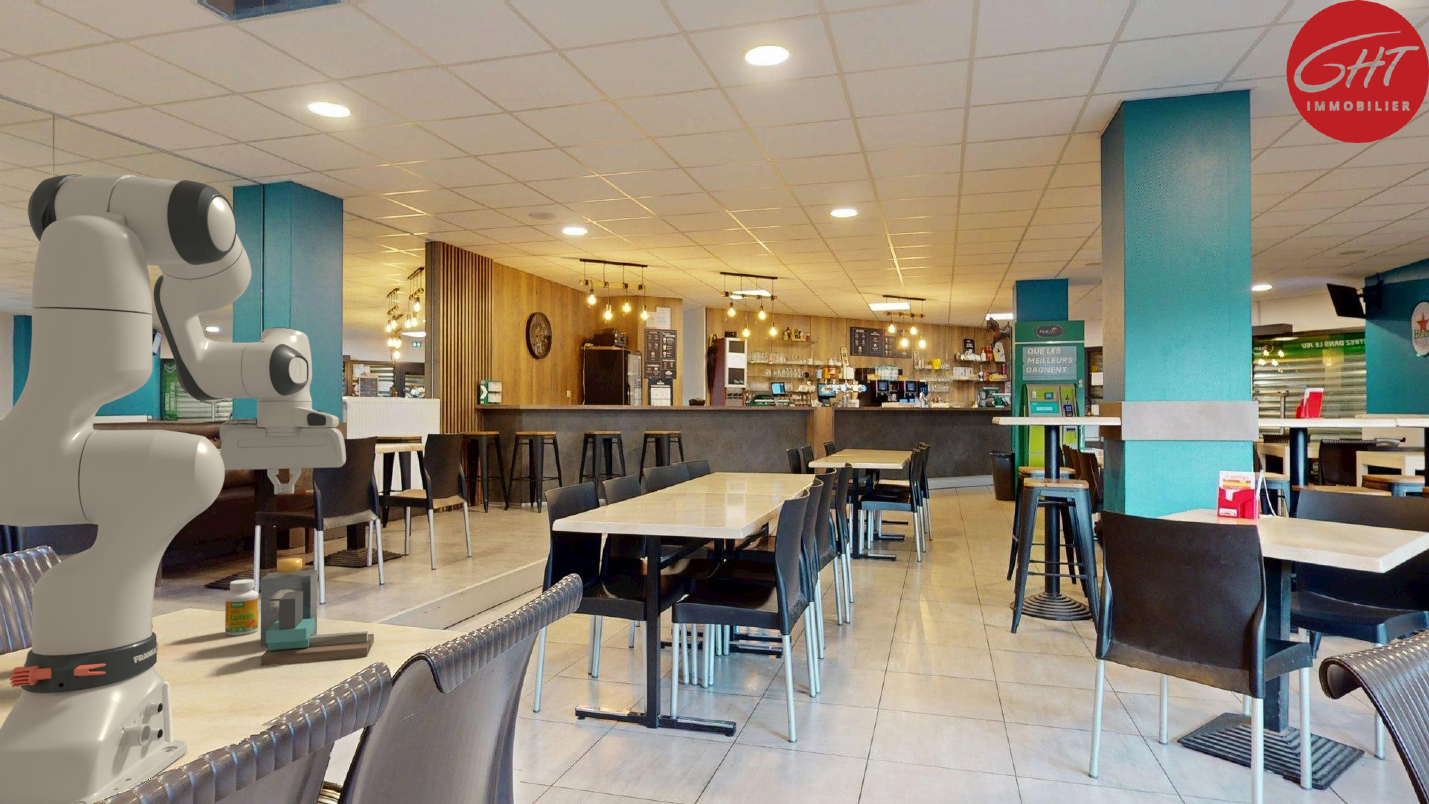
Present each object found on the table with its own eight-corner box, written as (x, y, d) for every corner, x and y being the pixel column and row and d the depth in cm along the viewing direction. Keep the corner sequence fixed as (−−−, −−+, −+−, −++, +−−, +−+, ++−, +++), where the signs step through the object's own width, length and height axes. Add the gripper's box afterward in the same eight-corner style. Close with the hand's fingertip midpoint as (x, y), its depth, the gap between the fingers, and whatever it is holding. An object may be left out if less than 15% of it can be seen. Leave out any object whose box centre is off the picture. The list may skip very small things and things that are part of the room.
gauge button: (299, 572, 141) (299, 561, 142) (274, 573, 140) (275, 562, 140) (304, 568, 145) (304, 557, 145) (280, 569, 144) (280, 558, 144)
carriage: (306, 649, 130) (306, 598, 130) (266, 652, 129) (266, 601, 129) (314, 638, 137) (314, 589, 137) (276, 641, 135) (276, 592, 135)
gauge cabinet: (309, 643, 140) (309, 576, 141) (259, 647, 138) (260, 579, 138) (316, 633, 147) (317, 569, 147) (269, 637, 144) (269, 572, 144)
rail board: (366, 656, 132) (367, 638, 132) (260, 665, 127) (260, 647, 127) (373, 642, 141) (373, 625, 141) (274, 650, 136) (274, 633, 136)
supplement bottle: (226, 638, 144) (226, 585, 145) (224, 631, 149) (224, 580, 149) (259, 633, 148) (260, 581, 148) (256, 627, 152) (256, 577, 152)
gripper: (214, 418, 136) (213, 497, 136) (342, 417, 142) (341, 493, 142) (225, 418, 142) (224, 494, 142) (347, 417, 148) (347, 490, 148)
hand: (284, 493), depth 142 cm, fingers closed
